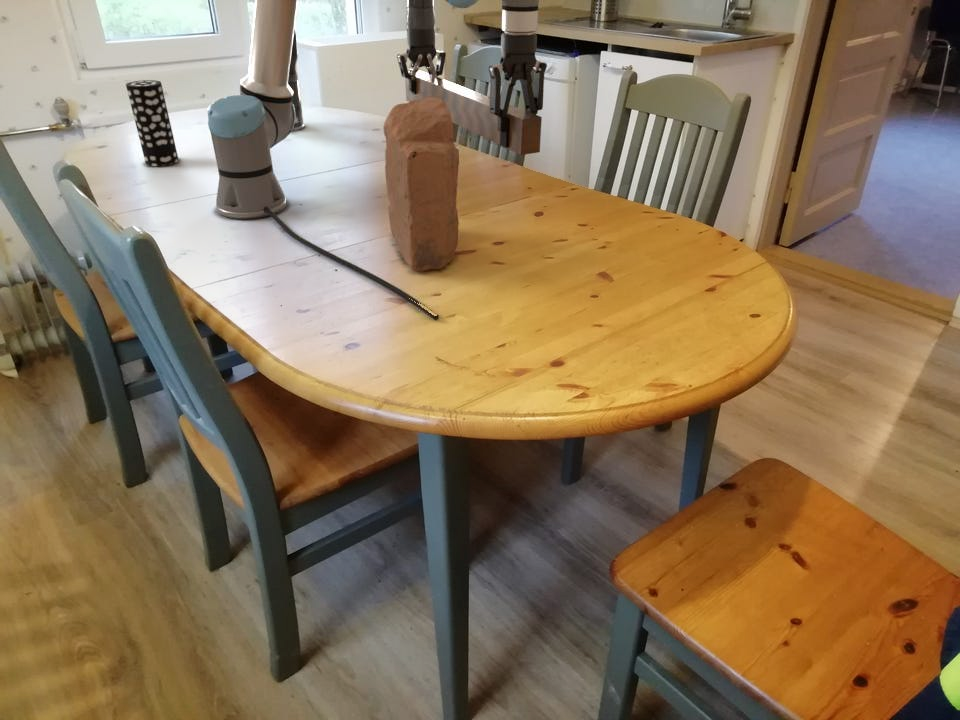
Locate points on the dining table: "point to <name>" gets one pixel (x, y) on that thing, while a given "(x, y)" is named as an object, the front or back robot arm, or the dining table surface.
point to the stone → (422, 182)
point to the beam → (479, 113)
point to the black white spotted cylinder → (152, 122)
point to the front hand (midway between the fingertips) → (515, 144)
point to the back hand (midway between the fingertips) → (422, 92)
